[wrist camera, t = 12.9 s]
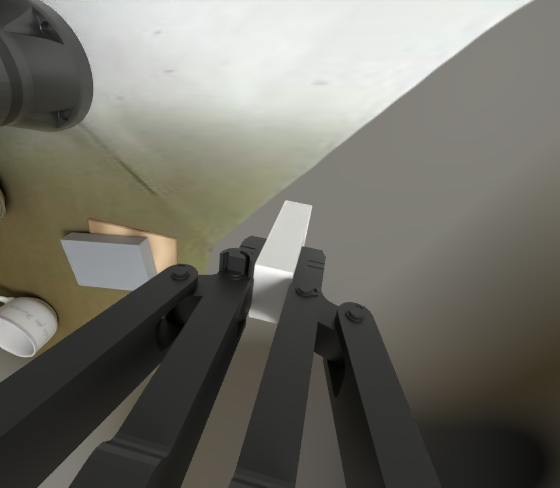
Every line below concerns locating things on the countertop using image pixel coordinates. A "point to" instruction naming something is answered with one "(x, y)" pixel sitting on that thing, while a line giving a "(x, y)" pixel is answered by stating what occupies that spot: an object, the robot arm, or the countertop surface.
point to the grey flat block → (109, 260)
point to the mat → (159, 244)
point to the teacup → (25, 325)
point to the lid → (2, 205)
